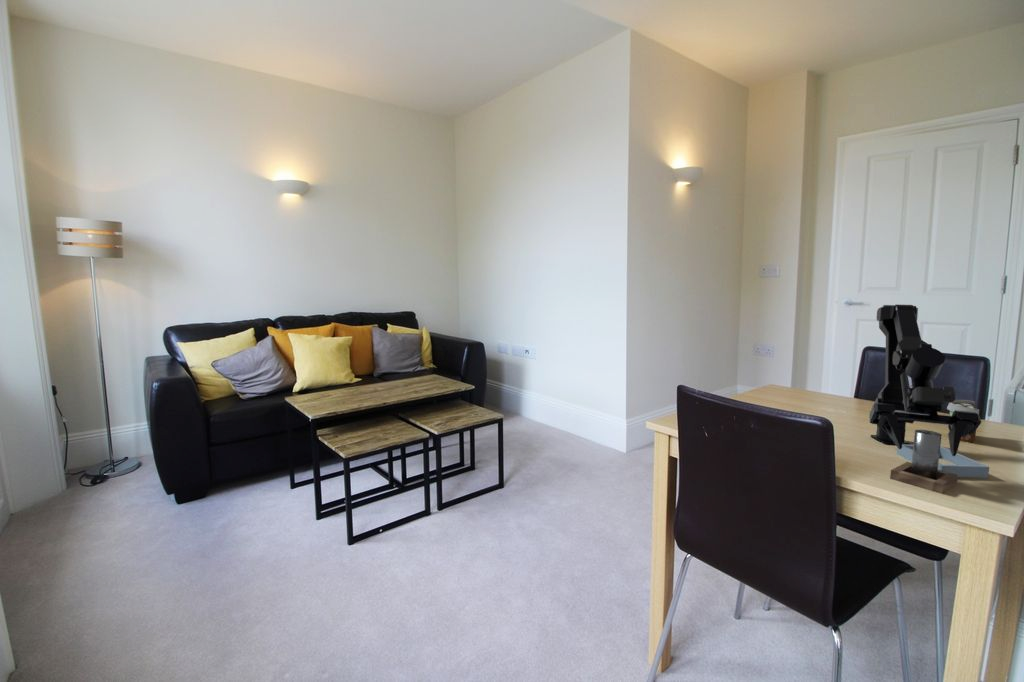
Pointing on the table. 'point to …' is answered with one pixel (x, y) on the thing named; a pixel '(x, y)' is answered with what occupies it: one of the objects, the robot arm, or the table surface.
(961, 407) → the food container
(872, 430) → the table surface
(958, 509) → the table surface
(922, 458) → the metallic grey cylinder
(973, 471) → the tray
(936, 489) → the socket block
